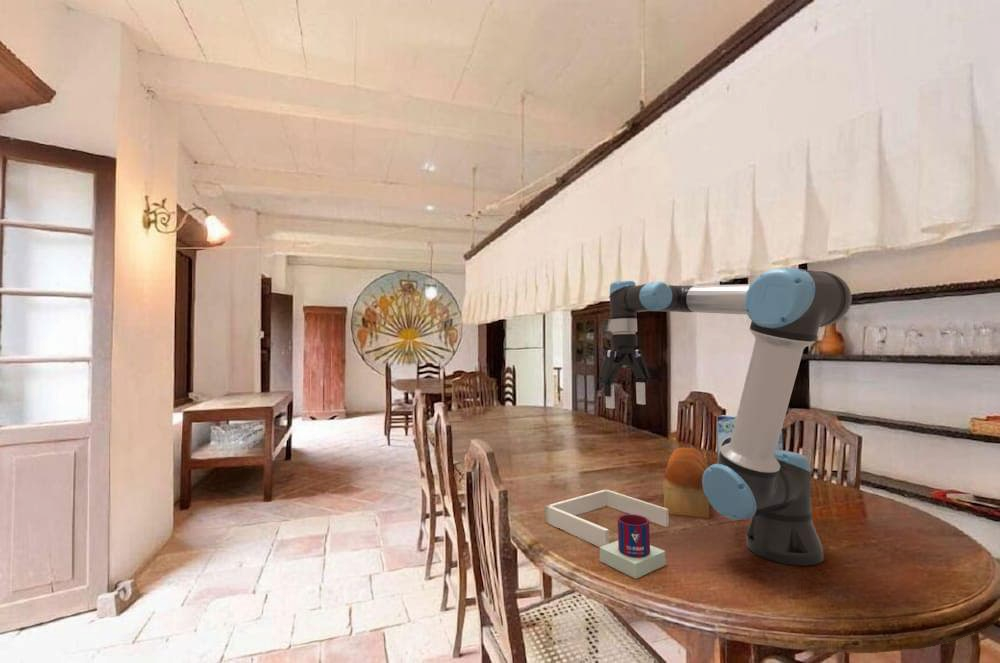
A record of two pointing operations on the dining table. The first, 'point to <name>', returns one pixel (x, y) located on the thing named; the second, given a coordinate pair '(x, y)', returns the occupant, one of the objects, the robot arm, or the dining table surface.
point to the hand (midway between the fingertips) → (626, 406)
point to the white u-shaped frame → (588, 531)
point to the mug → (633, 535)
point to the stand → (632, 560)
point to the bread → (685, 484)
